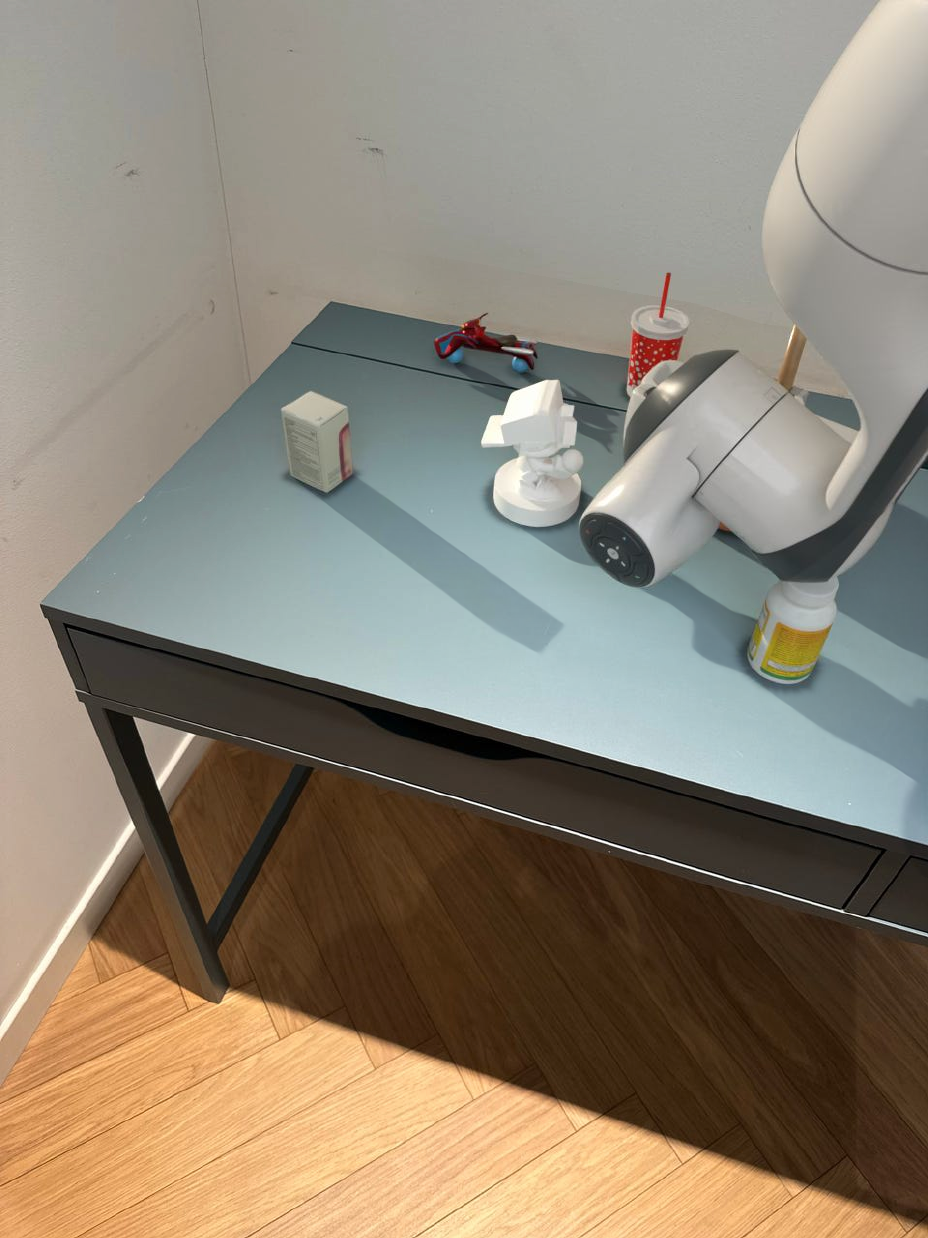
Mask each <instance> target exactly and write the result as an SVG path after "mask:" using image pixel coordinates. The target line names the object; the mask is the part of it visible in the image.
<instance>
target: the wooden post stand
mask: <svg viewBox="0 0 928 1238" xmlns="http://www.w3.org/2000/svg"><path fill="white" fill-rule="evenodd" d="M792 325H793V326H792V329H791V332H790V336H789V340H788V343H787V345H786V349H785V353H784V357H783V360H782V363H781V367H780V370H779V373H778V377H777V379H778V380H777V382H778V383H779V384H781V385H782V386H783V387H784V388H785V389H787V390H789V389H792V387H793V386H794V381H795V379H796V375H797V372H798V370H799V366H800V362H801V359H802V356H803V352H804V350H805V347H806V343H807V341H808V340H807V338H806V337H805V336H804V335H803V334H802V332H801V331H800V330H799V329H798V328H797V327H796V325H795V324H794V323H793V324H792Z"/></svg>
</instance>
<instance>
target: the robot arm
mask: <svg viewBox="0 0 928 1238" xmlns="http://www.w3.org/2000/svg"><path fill="white" fill-rule="evenodd" d="M811 102H812V103H811V104H810V106H809V107H808V110H807V111H806V113H805V114H804V117H803V119H802V121H801V122H800V124H799V126H798V128H797V130H796V132H795V133H794V135H793V137H792V139H791V142H790V144H788V145H789V146H788V147H787V149H786V152H785V153H784V156H783V158H782V160H781V162H780V164H779V167H778V169H777V172H776V174H775V176H774V179H773V180H772V181H773V182H772V184H771V187H770V190H769V192H768V195H767V196H768V197H767V200H766V204H765V207H764V208H765V209H764V214H763V220H762V228H761V229H762V230H761V233H762V234H761V244H762V246H761V247H762V249H761V250H762V256H763V262H764V266H765V270H766V274H767V277H768V280H769V283H770V285H771V288H772V290H773V292H774V295H775V297H776V298H777V300H778V302H779V304H780V306H781V307H782V309H783V311H784V312H785V313H786V315H787V317H788V318H789V319H790V320H791V322H792V323H793V325H794V324H795V325H796V327H797V328H798V329H799V330H800V331H801V332H802V334H803V335H804V336H805V337H806V338H807V340H806V341H808V342H809V343H810V344H811V346H812V347H813V348H814V350H816V352H817V353H819V355H820V356H821V357H822V359H823V360H824V361H825V363H826V364H827V365H828V366H829V368H830V369H831V371H832V372H833V373H834V374H835V375H836V377H837V378H838V380H839V381H840V382H841V384H842V386H843V387H844V389H845V390H846V392H847V393H848V395H849V397H850V398H851V400H852V402H853V404H854V406H855V408H856V411H857V413H858V417H859V421H860V429H859V430H856V429H854V428H851V427H848V426H846V425H843V424H841V423H838V422H836V421H833V420H831V419H829V418H825V417H822V416H821V415H818V414H815V413H813V412H812V411H811V410H810V409H809V408H808V407H806V403H807V400H808V397H809V394H810V391H809V390H808V389H804V388H801V387H799V386H796V385H793V386H792V389H789V390H787V389H785V388H784V387H783V386H782V385H781V384H779V383H778V382H777V380H778V378H775V377H773V376H772V375H770V374H769V373H768V372H766V371H765V370H764V369H763V368H762V367H760V366H759V365H758V364H757V363H755V362H754V361H753V360H752V359H750V358H749V357H747V356H746V355H744V354H743V353H742V352H740V350H738V349H728V348H727V349H715V350H711V351H706V352H703V353H699V354H695V355H693V356H692V357H690V358H689V359H688V360H687V361H685V362H682V361H680V360H677V361H676V360H668V361H662V362H660V363H658V364H657V365H656V366H655V367H653V368H652V369H651V370H650V371H649V372H648V373H647V374H646V375H645V376H644V378H643V379H642V381H641V385H639V386H637V387H636V388H635V389H634V390H633V392H632V395H631V397H629V402H628V404H627V410H626V415H625V420H624V427H623V436H622V437H623V438H622V450H623V451H622V454H623V455H622V460H623V464H624V465H623V466H622V467H621V468H620V469H619V470H618V471H617V472H616V473H615V474H614V475H613V476H612V477H611V478H610V479H609V481H607V483H606V484H605V485H604V486H603V487H602V488H601V489H600V490H599V492H598V493H597V494H596V495H595V497H594V498H593V499H592V500H591V502H590V503H589V504H588V505H587V507H586V508H585V510H584V511H583V513H582V515H581V517H580V519H579V523H578V535H579V538H580V541H581V544H582V547H583V548H584V550H585V551H586V552H587V555H588V556H589V557H590V558H591V560H592V561H593V562H594V563H595V564H596V565H597V566H598V567H599V568H601V570H602V571H603V572H605V573H606V574H607V575H608V576H610V577H611V578H612V579H613V580H615V581H616V582H619V583H620V584H622V585H625V586H628V587H631V588H636V589H637V588H638V589H644V588H647V587H650V586H653V585H655V584H657V583H659V582H660V581H662V580H664V579H665V578H666V577H668V576H669V575H670V574H672V573H673V572H674V571H676V570H677V569H679V568H680V567H681V566H682V565H683V564H685V563H686V562H687V561H688V560H689V559H691V558H692V557H693V556H694V555H696V553H697V552H698V551H699V550H701V549H702V548H703V547H704V545H706V544H707V543H708V542H709V540H710V539H711V538H712V537H713V536H714V535H715V534H716V532H717V531H718V530H719V529H718V527H719V525H720V522H722V523H723V524H724V525H725V526H726V527H728V528H729V529H730V530H731V531H732V533H733V534H734V535H735V536H737V537H738V538H739V539H740V540H741V542H743V543H744V544H746V545H747V546H748V547H749V548H750V549H751V552H752V553H753V554H754V555H755V556H756V557H757V558H758V559H759V560H760V561H761V562H762V564H764V565H765V566H766V567H767V568H768V569H769V570H770V571H771V573H772V574H773V575H774V576H775V577H776V578H777V579H778V580H779V581H788V582H799V583H820V582H827V581H828V580H829V579H831V578H834V577H836V576H837V577H838V576H840V575H842V574H844V573H845V572H847V571H849V570H850V569H851V568H852V567H853V566H854V565H856V564H857V563H859V561H860V560H861V559H862V558H864V556H865V555H867V553H868V552H869V551H870V550H871V549H872V548H873V546H874V545H875V544H876V542H878V540H879V538H880V537H881V535H882V534H883V531H884V530H885V528H886V526H887V524H888V522H889V520H890V517H891V514H892V511H893V509H894V508H895V506H896V505H897V503H898V502H899V500H900V498H901V496H902V495H903V493H904V492H905V491H906V489H907V488H908V486H909V485H910V483H911V482H912V480H913V479H914V477H916V475H917V474H918V472H919V471H920V470H921V468H922V467H923V466H924V464H925V463H926V461H927V460H928V0H879V1H878V2H877V4H876V5H875V6H874V7H873V9H872V10H871V11H870V12H869V14H868V16H867V17H866V19H865V20H864V21H863V23H862V24H861V26H860V27H859V29H858V30H857V31H856V33H855V34H854V35H853V37H852V38H851V40H850V41H849V42H848V44H847V45H846V47H845V49H844V50H843V52H842V53H841V54H840V56H839V58H838V60H837V61H836V63H835V64H834V65H833V67H832V69H831V71H830V72H829V73H828V75H827V77H826V79H825V80H824V82H823V83H822V85H821V87H820V89H819V90H818V92H817V94H816V95H815V97H814V99H813V101H811ZM731 531H730V532H731Z"/></svg>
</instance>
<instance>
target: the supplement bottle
mask: <svg viewBox="0 0 928 1238" xmlns="http://www.w3.org/2000/svg"><path fill="white" fill-rule="evenodd" d="M839 586H840V583H839V578H838V576H836V577H834V578H831V579H829V580H828V581H827V582H820V583H799V582H788V581H781V580H779V581H778V582H776V583H775V584H773V585H772V586H771V588H769V591H768V592H767V593H766V596H765V599H764V602H763V605H762V608H761V610H760V613H759V616H758V619H757V621H756V624H755V627H754V629H753V632H752V636H751V638H750V642H749V645H748V647H747V651H746V652H747V660H748V663H749V665H750V666H751V668H752V669H753V670H754V671H755V673H757V674H758V675H759V676H761V677H762V678H764V679H766V680H767V681H770V682H774V683H777V684H781V685H794V684H798V683H800V682H803V681H805V680H806V679H807V678H808V677H809V676H810V675H811V674H812V672H813V670H814V667H815V666H816V663H817V661H818V658H819V656H820V654H821V652H822V649H823V647H824V644H825V642H826V641H827V638H828V636H829V633H830V631H831V629H832V627H833V624H834V623H835V620H836V616H837V613H838V612H837V611H838V607H837V603H836V600H835V598H836V596H837V592H838V589H839Z"/></svg>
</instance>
